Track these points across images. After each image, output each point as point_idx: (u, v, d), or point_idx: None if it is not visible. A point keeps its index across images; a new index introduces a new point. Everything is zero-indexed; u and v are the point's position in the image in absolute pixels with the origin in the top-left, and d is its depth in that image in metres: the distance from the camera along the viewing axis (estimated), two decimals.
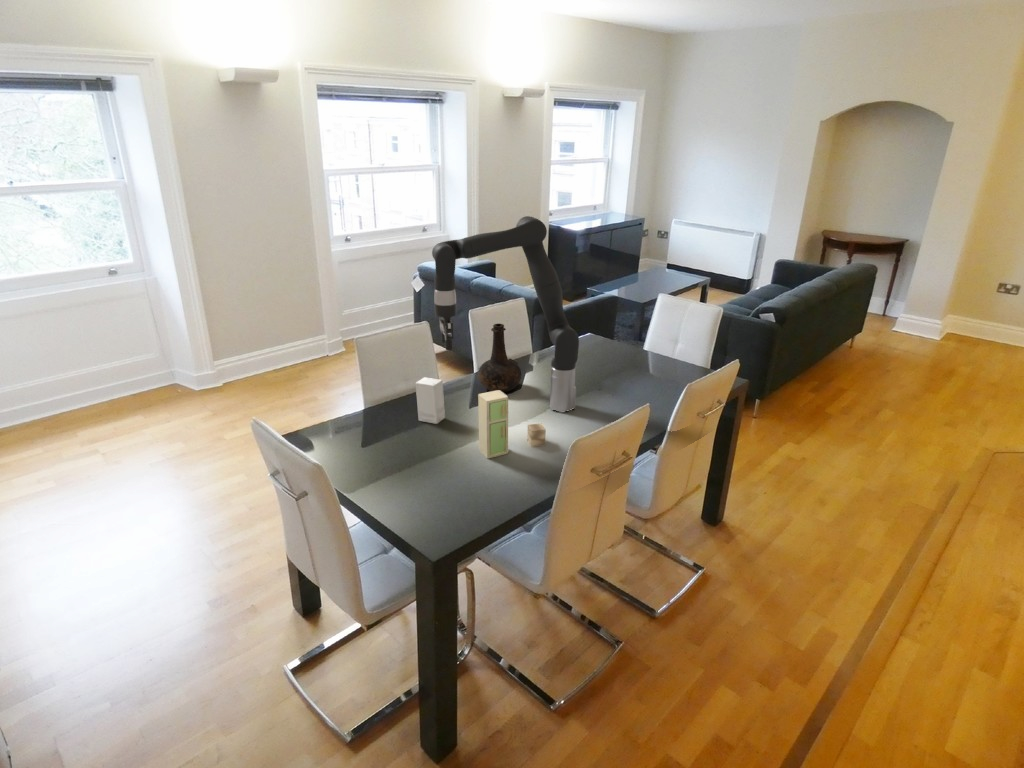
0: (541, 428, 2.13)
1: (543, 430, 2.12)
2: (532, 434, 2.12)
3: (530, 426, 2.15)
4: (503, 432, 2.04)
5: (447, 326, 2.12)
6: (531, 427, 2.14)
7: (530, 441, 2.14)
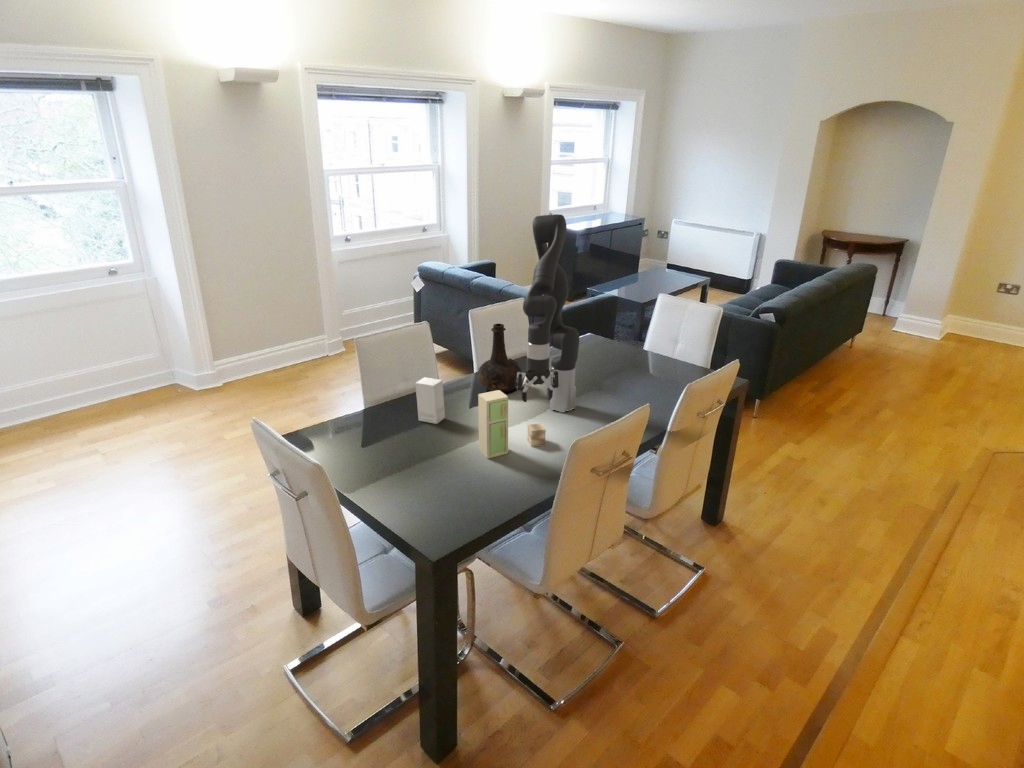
0: (541, 428, 2.13)
1: (543, 430, 2.12)
2: (532, 434, 2.12)
3: (530, 426, 2.15)
4: (503, 432, 2.04)
5: None
6: (531, 427, 2.14)
7: (530, 441, 2.14)
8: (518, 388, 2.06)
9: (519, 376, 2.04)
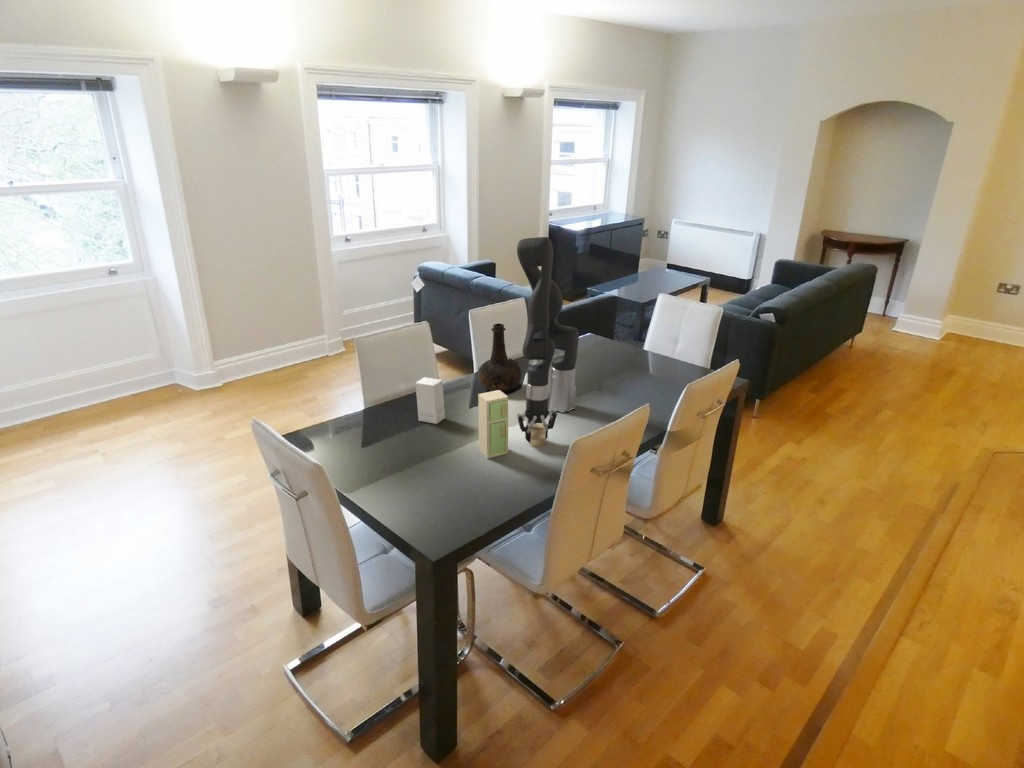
0: (542, 428, 2.13)
1: (543, 430, 2.12)
2: (532, 434, 2.12)
3: None
4: (503, 432, 2.04)
5: None
6: None
7: (530, 441, 2.14)
8: (522, 429, 2.12)
9: (519, 419, 2.10)
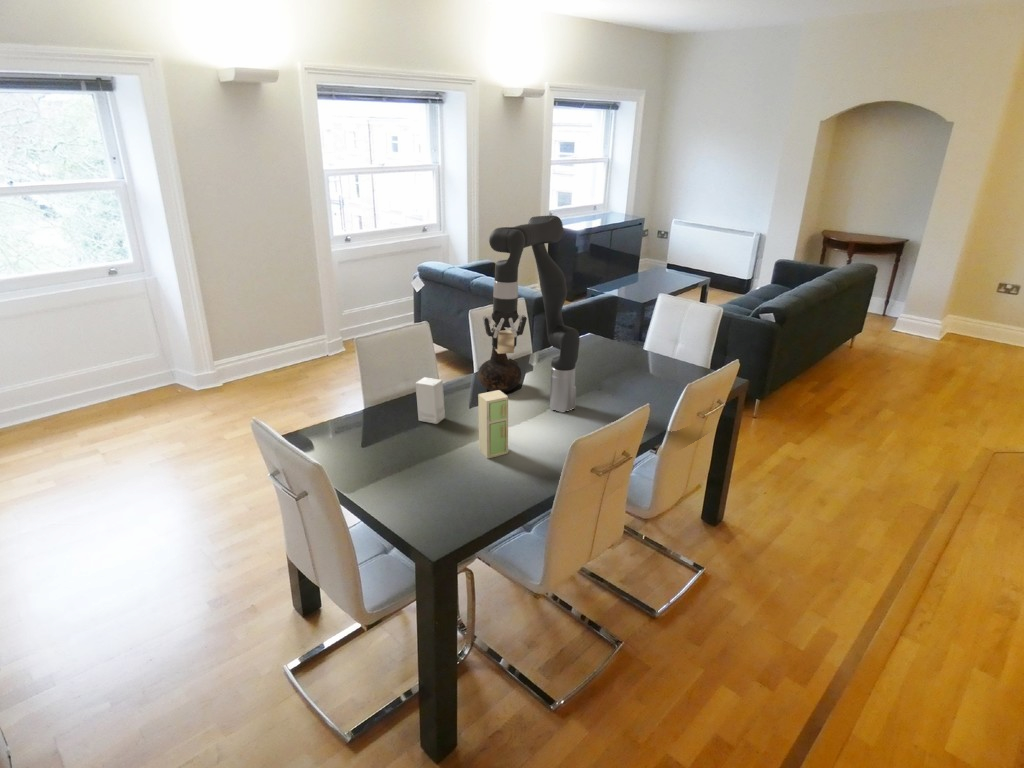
0: (510, 333, 1.94)
1: (512, 335, 1.93)
2: (499, 339, 1.93)
3: None
4: (503, 432, 2.04)
5: None
6: (499, 332, 1.95)
7: (497, 348, 1.95)
8: (488, 333, 1.93)
9: (485, 321, 1.91)
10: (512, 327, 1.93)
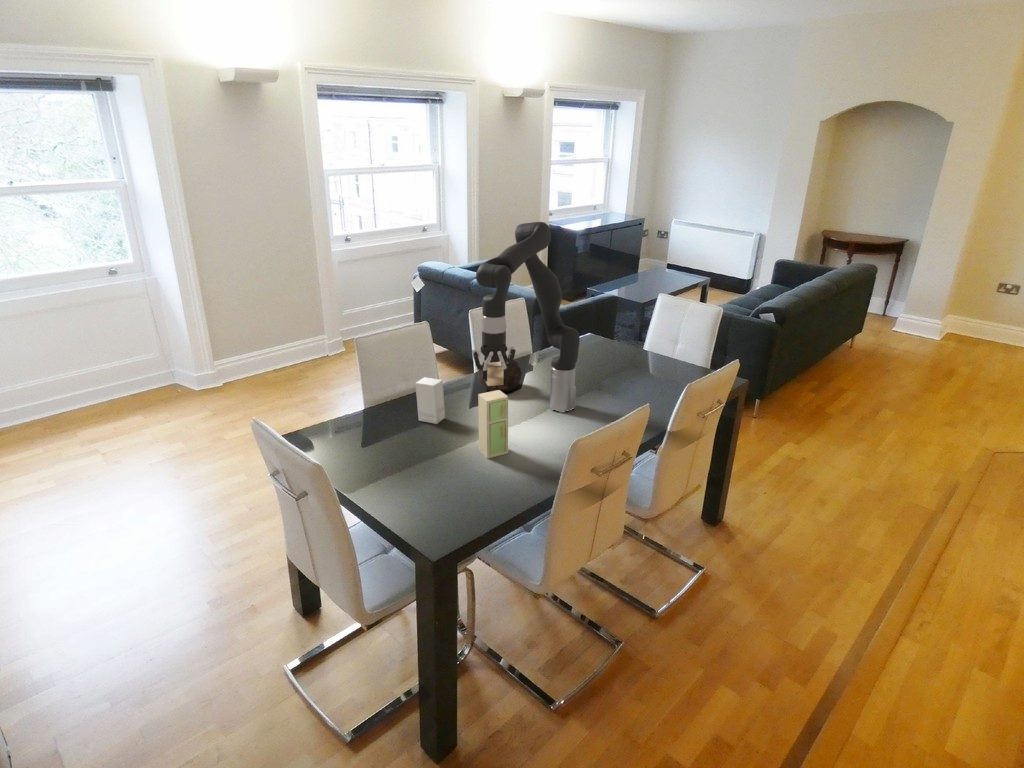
0: (499, 365, 1.97)
1: (501, 368, 1.96)
2: (489, 372, 1.95)
3: None
4: (503, 432, 2.04)
5: None
6: (488, 365, 1.97)
7: (487, 380, 1.97)
8: (478, 367, 1.95)
9: (474, 355, 1.93)
10: (501, 360, 1.95)
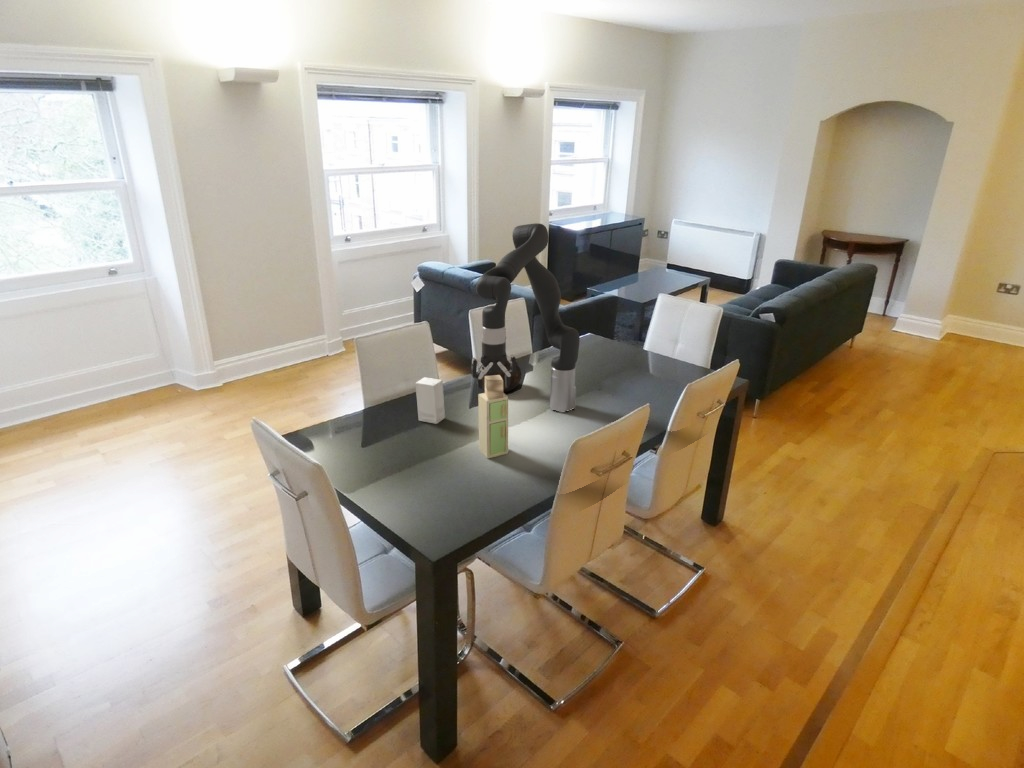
0: (499, 379, 1.98)
1: (500, 381, 1.97)
2: (488, 385, 1.97)
3: (487, 377, 1.99)
4: (503, 432, 2.04)
5: None
6: (488, 378, 1.99)
7: (487, 393, 1.99)
8: (473, 375, 1.95)
9: (474, 362, 1.94)
10: (503, 369, 1.97)
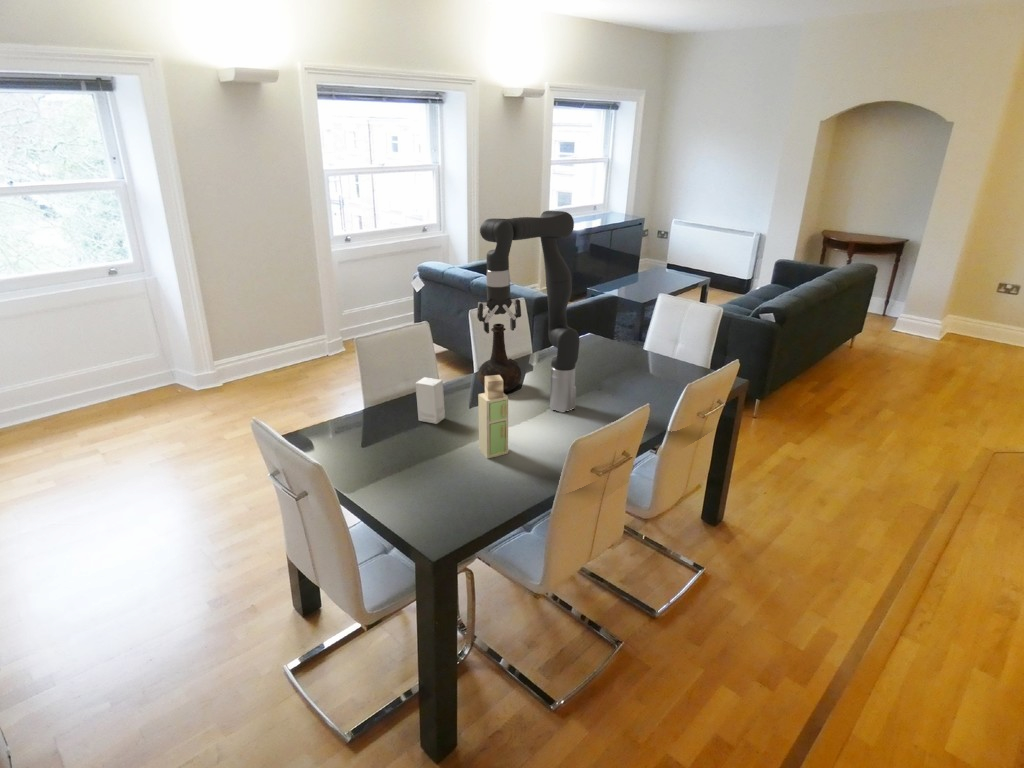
0: (499, 379, 1.98)
1: (500, 381, 1.97)
2: (488, 385, 1.97)
3: (487, 377, 1.99)
4: (503, 432, 2.04)
5: None
6: (488, 378, 1.99)
7: (487, 393, 1.99)
8: (480, 318, 2.01)
9: (480, 306, 1.99)
10: (508, 312, 2.02)
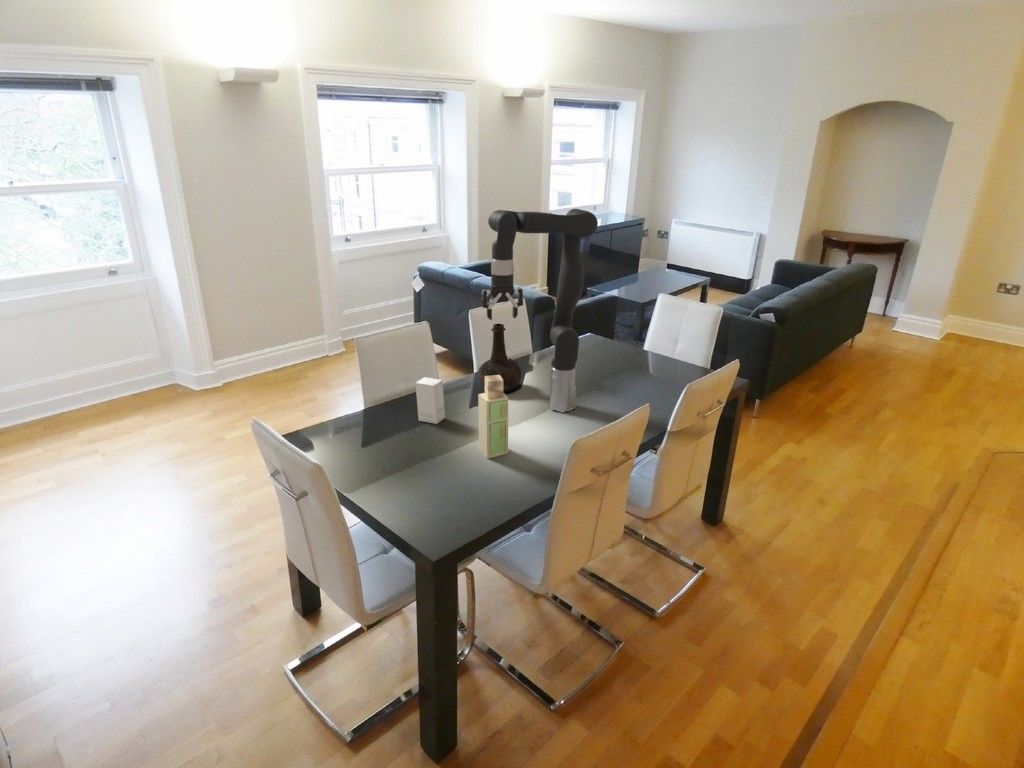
0: (499, 379, 1.98)
1: (500, 381, 1.97)
2: (489, 385, 1.97)
3: (487, 377, 1.99)
4: (503, 432, 2.04)
5: None
6: (488, 378, 1.99)
7: (487, 393, 1.99)
8: (483, 305, 2.11)
9: (484, 293, 2.09)
10: (511, 300, 2.12)
